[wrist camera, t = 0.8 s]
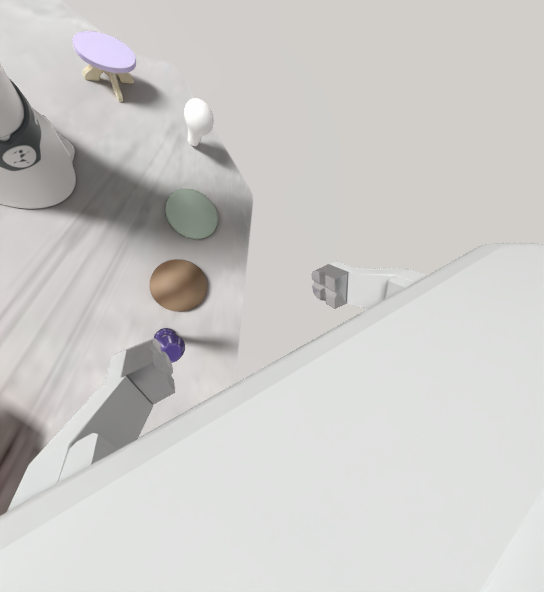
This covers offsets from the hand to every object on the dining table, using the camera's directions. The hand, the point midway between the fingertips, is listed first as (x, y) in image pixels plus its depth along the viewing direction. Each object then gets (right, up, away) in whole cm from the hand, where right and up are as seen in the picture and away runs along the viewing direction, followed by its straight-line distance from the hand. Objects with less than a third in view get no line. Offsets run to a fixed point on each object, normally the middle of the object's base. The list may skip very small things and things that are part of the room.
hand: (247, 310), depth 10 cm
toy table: (-34, +47, +33) cm, 66 cm away
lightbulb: (-19, +40, +41) cm, 60 cm away
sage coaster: (-19, +21, +39) cm, 48 cm away
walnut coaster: (-21, +3, +37) cm, 42 cm away
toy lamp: (-23, -9, +34) cm, 42 cm away
